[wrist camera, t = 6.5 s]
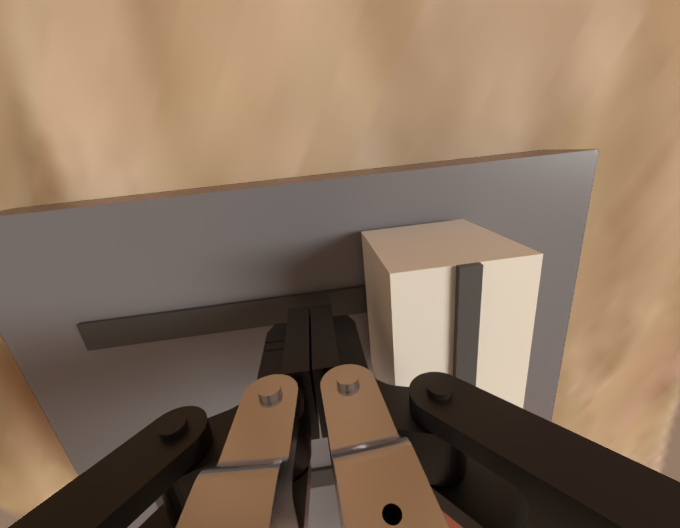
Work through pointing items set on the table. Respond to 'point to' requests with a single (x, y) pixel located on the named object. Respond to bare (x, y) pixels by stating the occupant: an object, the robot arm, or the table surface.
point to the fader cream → (451, 305)
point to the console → (251, 285)
